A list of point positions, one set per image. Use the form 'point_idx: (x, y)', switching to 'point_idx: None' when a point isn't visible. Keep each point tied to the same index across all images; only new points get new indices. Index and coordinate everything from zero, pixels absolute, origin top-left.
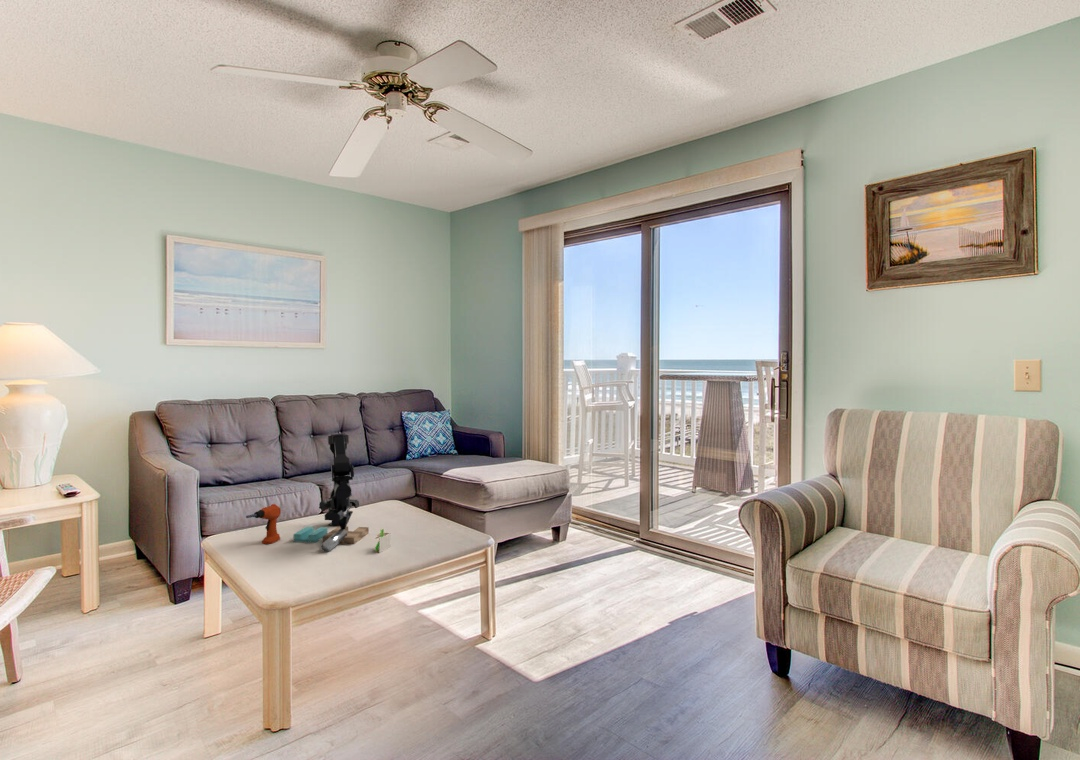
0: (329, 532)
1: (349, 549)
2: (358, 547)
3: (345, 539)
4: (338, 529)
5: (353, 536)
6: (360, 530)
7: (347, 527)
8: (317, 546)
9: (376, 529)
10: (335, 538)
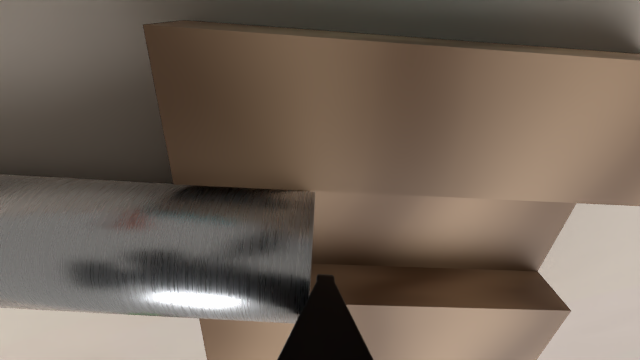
0: (384, 49)
1: (105, 321)
2: (167, 351)
3: None
4: (531, 132)
5: (246, 353)
6: (436, 348)
7: (616, 201)
8: (35, 8)
9: (588, 335)
10: (2, 306)
